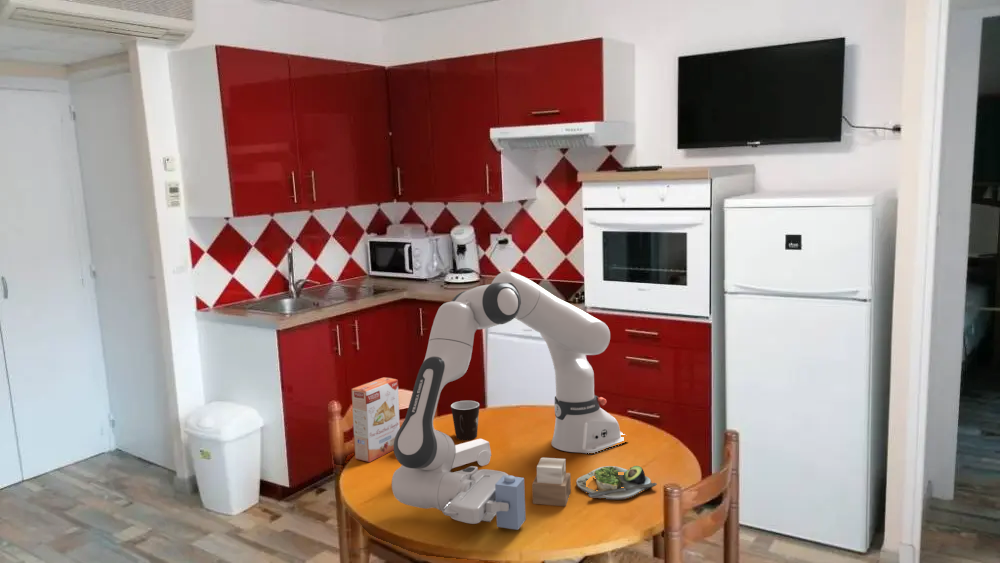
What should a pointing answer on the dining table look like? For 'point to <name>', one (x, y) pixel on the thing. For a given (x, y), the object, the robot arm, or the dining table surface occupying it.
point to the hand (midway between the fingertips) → (514, 500)
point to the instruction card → (489, 516)
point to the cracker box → (375, 418)
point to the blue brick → (511, 501)
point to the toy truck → (472, 453)
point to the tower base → (552, 492)
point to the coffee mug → (465, 419)
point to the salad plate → (616, 482)
